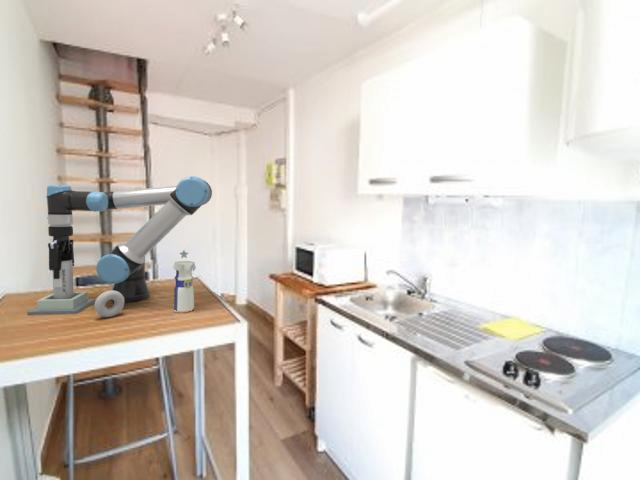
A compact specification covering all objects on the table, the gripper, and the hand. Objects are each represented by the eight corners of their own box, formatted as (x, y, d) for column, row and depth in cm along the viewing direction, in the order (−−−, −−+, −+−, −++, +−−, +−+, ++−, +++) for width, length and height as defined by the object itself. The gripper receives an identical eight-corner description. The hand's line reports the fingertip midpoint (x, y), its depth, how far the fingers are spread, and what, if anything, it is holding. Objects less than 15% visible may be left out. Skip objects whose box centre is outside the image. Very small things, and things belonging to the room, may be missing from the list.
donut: (96, 321, 121) (96, 293, 120) (92, 319, 123) (92, 292, 122) (126, 314, 129) (126, 288, 128) (122, 312, 131) (121, 287, 130)
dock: (95, 301, 143) (95, 290, 143) (76, 313, 128) (76, 301, 127) (51, 302, 140) (51, 291, 139) (27, 314, 124) (26, 302, 124)
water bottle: (199, 310, 137) (200, 248, 135) (179, 314, 131) (178, 250, 128) (190, 305, 143) (190, 246, 140) (169, 309, 137) (169, 247, 134)
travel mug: (59, 299, 136) (57, 250, 134) (77, 299, 137) (75, 250, 135) (48, 304, 130) (46, 252, 128) (67, 304, 131) (65, 252, 129)
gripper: (62, 223, 139) (64, 279, 141) (34, 227, 120) (37, 291, 123) (83, 224, 141) (85, 279, 143) (58, 227, 122) (61, 290, 124)
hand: (63, 284), depth 133 cm, fingers closed on travel mug, 6 cm apart
